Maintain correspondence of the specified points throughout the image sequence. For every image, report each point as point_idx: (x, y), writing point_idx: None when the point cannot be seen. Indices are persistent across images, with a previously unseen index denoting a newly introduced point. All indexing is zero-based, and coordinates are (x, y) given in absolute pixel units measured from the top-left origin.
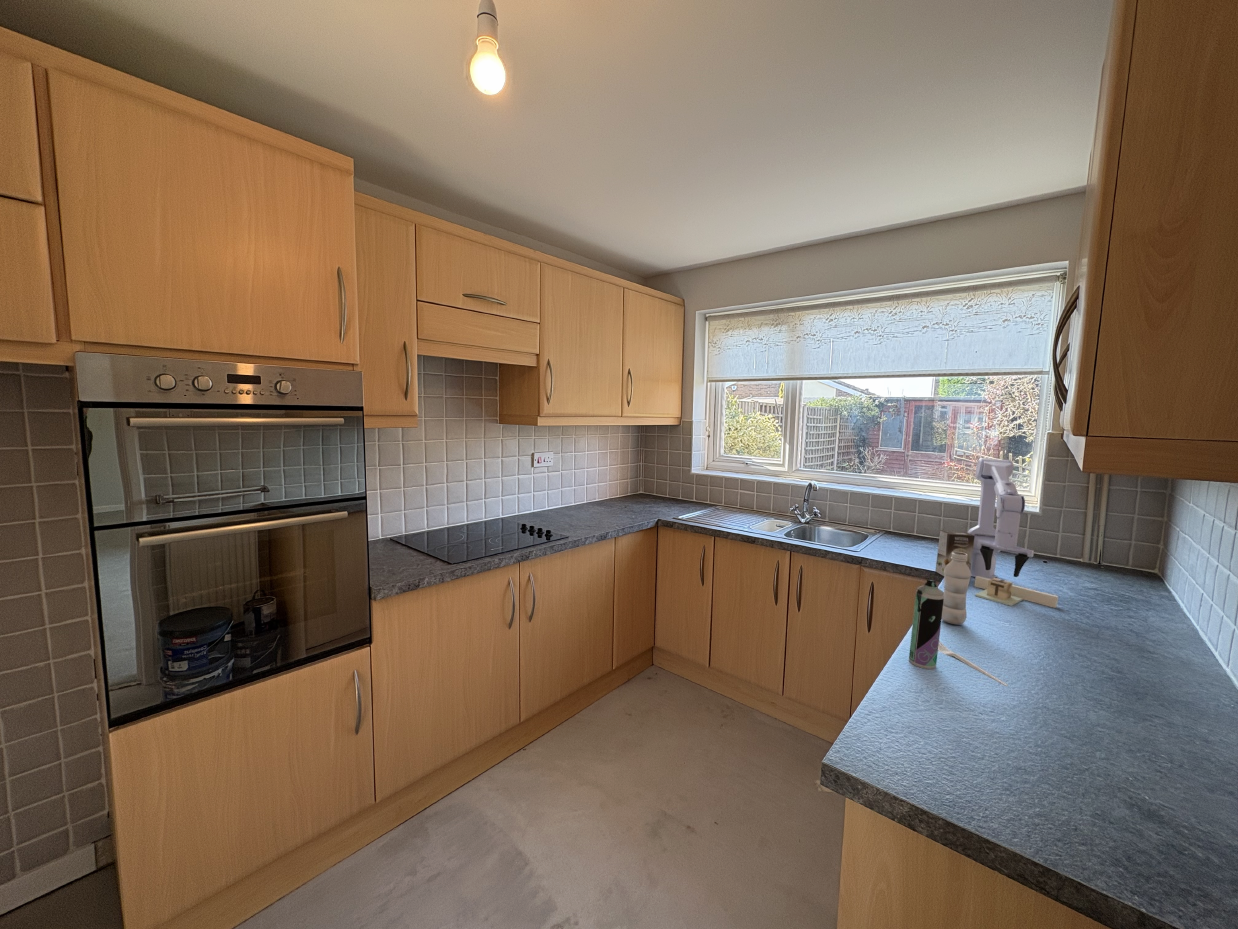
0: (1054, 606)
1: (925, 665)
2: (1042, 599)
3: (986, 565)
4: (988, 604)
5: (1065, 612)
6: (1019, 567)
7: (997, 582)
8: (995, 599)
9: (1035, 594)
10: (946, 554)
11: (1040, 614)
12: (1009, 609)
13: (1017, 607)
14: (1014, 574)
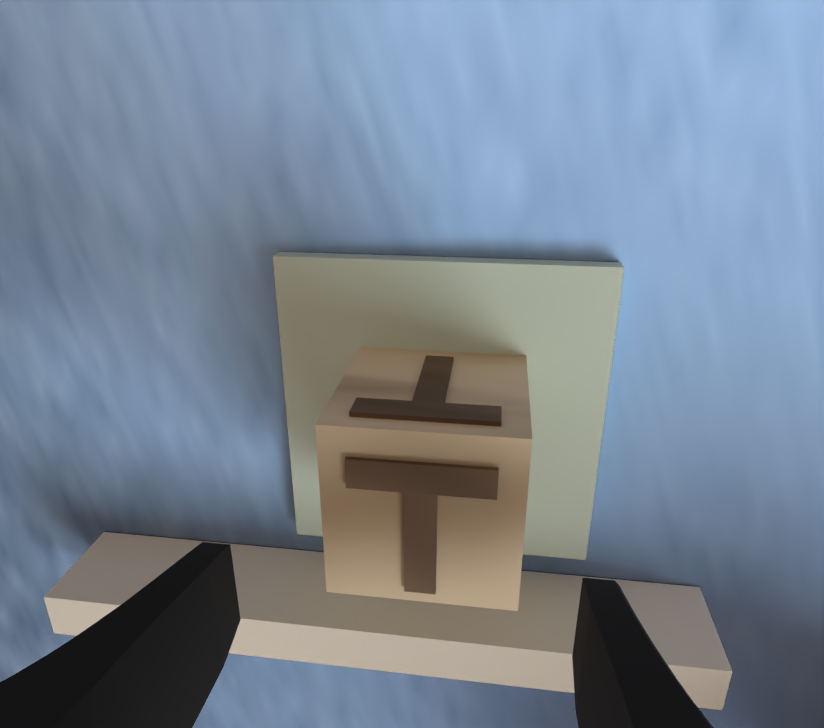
0: (103, 540)
1: None
2: (162, 567)
3: (623, 631)
4: (426, 71)
5: (24, 486)
6: (53, 652)
7: (423, 431)
8: (418, 271)
9: None
10: None
11: (57, 243)
12: (242, 112)
13: (236, 268)
14: (202, 562)
